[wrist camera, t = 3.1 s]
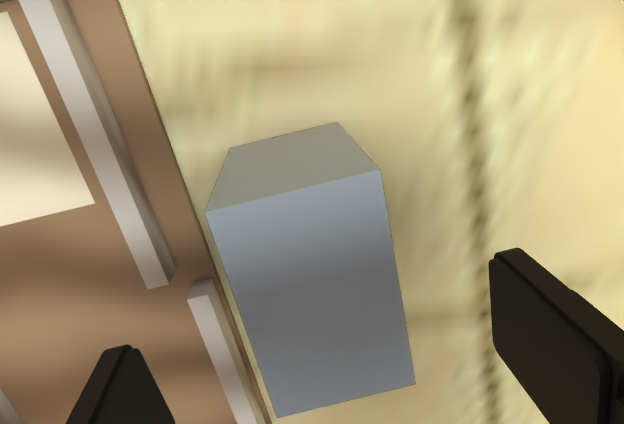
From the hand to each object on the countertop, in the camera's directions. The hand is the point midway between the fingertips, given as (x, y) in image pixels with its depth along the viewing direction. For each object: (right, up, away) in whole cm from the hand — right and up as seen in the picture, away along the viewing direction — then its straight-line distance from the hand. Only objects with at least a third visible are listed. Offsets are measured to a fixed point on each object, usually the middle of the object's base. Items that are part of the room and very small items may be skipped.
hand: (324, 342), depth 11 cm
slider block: (-1, +3, +10) cm, 10 cm away
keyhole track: (-12, 0, +9) cm, 15 cm away
